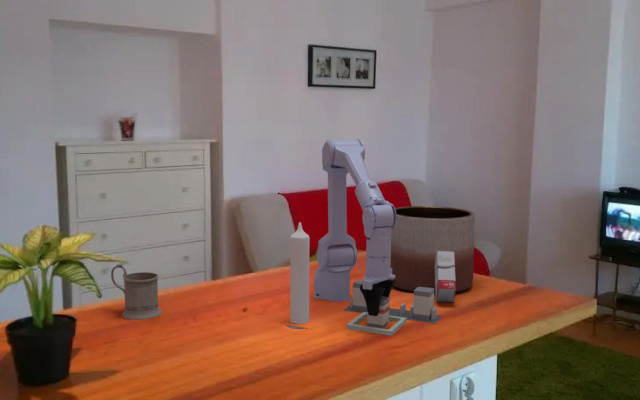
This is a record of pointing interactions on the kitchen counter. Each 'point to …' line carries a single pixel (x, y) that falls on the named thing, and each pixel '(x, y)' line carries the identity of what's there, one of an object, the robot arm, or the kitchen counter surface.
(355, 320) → the grey square frame
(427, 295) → the fuse right
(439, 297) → the ink box
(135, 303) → the mug
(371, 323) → the red banded fuse
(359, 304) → the block
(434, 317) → the board
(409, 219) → the planter
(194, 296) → the kitchen counter surface
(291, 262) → the candle
